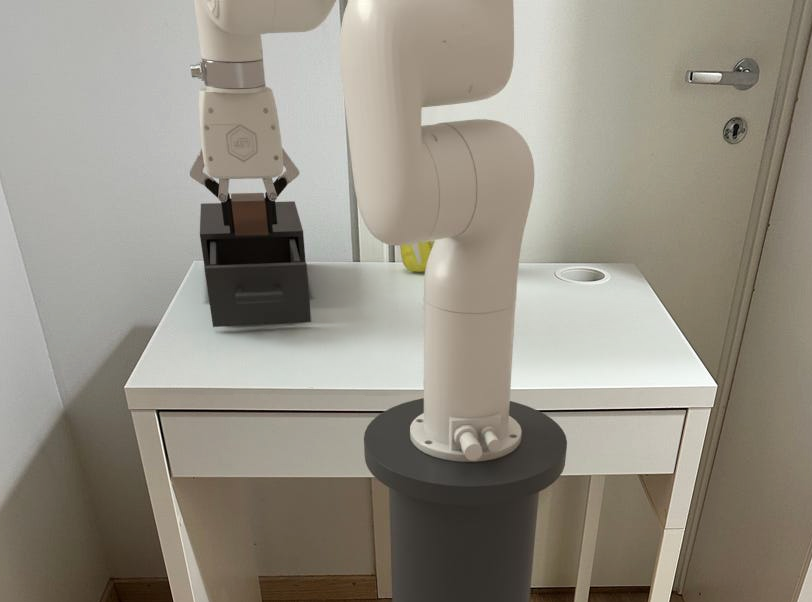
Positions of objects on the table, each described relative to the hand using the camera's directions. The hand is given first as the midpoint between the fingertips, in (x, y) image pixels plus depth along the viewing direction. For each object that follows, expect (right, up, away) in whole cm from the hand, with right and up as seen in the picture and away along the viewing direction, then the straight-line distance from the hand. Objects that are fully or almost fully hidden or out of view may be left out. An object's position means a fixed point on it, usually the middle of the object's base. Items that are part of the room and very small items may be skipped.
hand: (251, 229), depth 125 cm
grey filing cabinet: (-3, 0, +18) cm, 18 cm away
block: (0, 0, 0) cm, 0 cm away
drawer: (0, -9, +5) cm, 11 cm away
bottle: (+25, +4, +25) cm, 35 cm away
